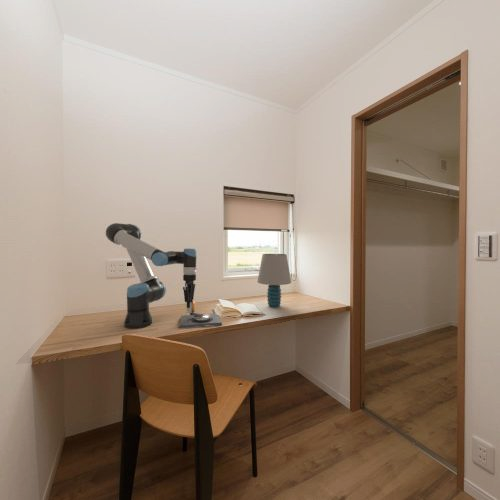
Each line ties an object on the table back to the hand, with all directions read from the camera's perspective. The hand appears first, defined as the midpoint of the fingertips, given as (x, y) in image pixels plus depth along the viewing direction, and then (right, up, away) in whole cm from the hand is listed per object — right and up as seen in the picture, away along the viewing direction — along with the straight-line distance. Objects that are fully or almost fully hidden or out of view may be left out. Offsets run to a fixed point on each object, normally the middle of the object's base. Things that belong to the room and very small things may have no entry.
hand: (188, 312), depth 152 cm
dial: (+6, -4, +1) cm, 7 cm away
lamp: (+55, -5, +37) cm, 67 cm away
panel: (+7, -6, +1) cm, 9 cm away
